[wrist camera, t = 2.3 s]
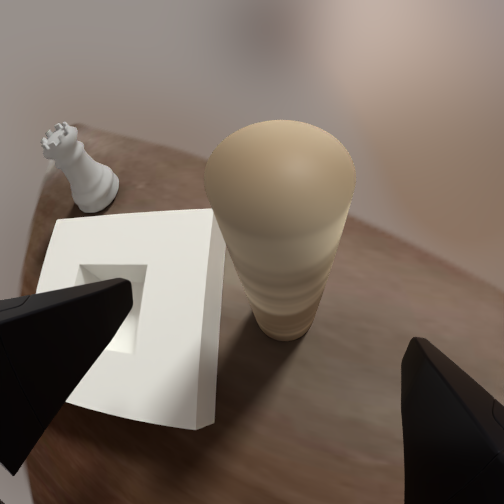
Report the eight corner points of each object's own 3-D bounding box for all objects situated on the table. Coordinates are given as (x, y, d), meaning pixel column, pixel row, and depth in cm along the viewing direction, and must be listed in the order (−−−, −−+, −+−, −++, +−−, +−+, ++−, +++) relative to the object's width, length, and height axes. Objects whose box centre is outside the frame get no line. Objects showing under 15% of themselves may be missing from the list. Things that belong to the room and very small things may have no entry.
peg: (314, 340, 18) (366, 234, 6) (254, 341, 18) (194, 237, 6) (313, 284, 19) (343, 120, 8) (256, 285, 20) (213, 124, 8)
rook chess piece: (75, 219, 24) (23, 163, 17) (86, 180, 26) (43, 123, 19) (116, 211, 24) (66, 147, 17) (125, 170, 26) (86, 106, 18)
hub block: (214, 422, 16) (195, 430, 13) (58, 391, 17) (21, 386, 14) (226, 240, 21) (213, 208, 18) (84, 244, 23) (57, 219, 19)
